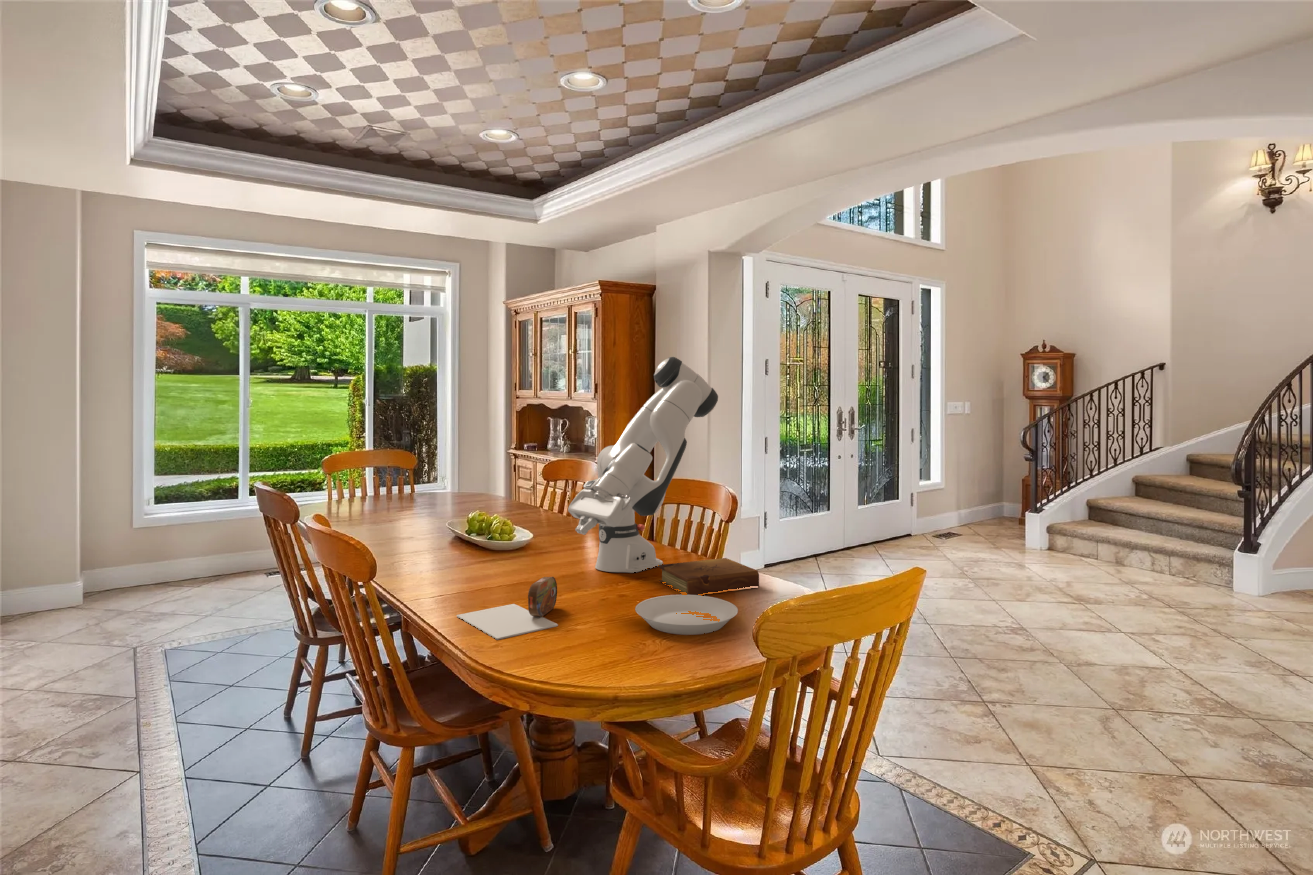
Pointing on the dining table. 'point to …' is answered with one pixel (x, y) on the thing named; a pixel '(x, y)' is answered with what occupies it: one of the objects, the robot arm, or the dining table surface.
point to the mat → (506, 621)
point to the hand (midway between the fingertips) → (579, 532)
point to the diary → (708, 576)
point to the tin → (542, 596)
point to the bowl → (666, 620)
